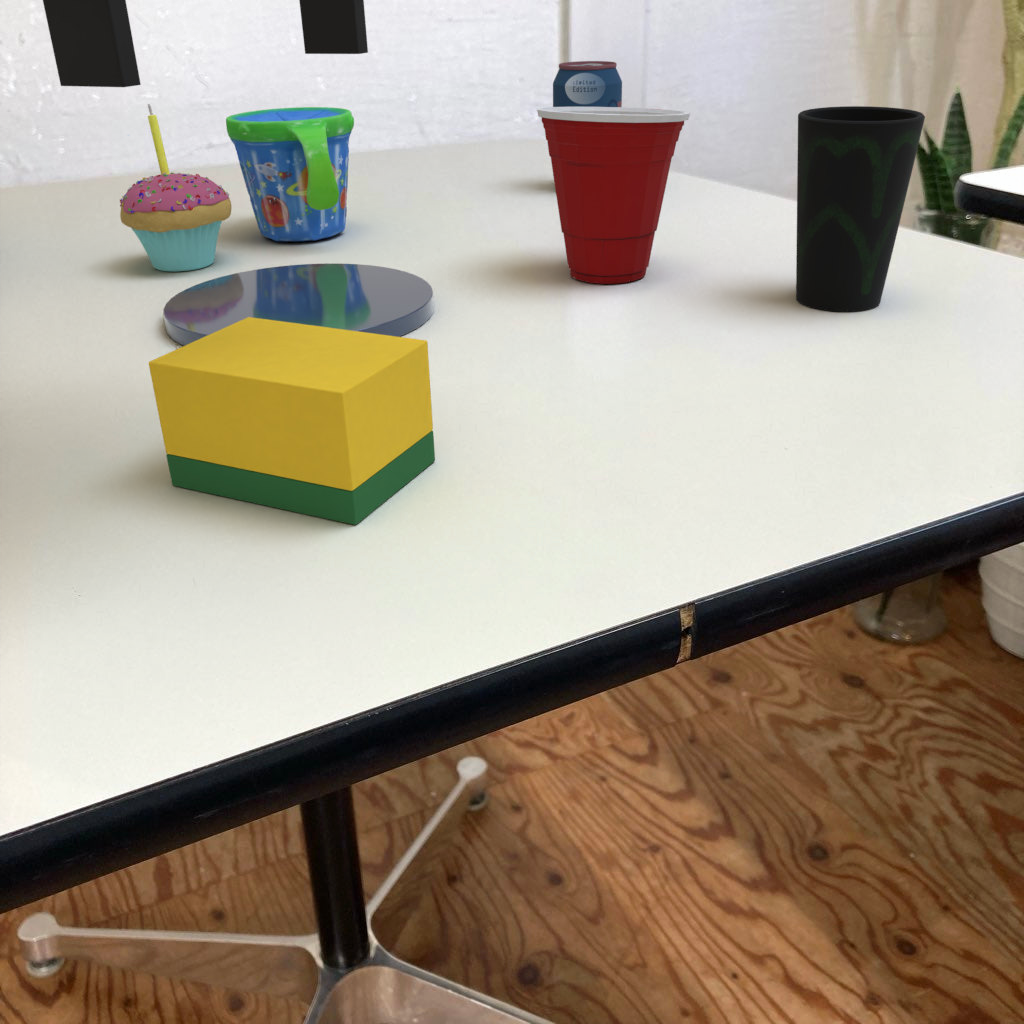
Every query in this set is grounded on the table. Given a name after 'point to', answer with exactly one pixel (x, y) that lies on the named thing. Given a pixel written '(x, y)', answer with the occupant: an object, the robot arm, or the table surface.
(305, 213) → the snack cup
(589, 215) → the plastic cup
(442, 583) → the table surface
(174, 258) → the cupcake
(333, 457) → the sponge
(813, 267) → the cup
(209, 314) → the plate
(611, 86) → the soda can
